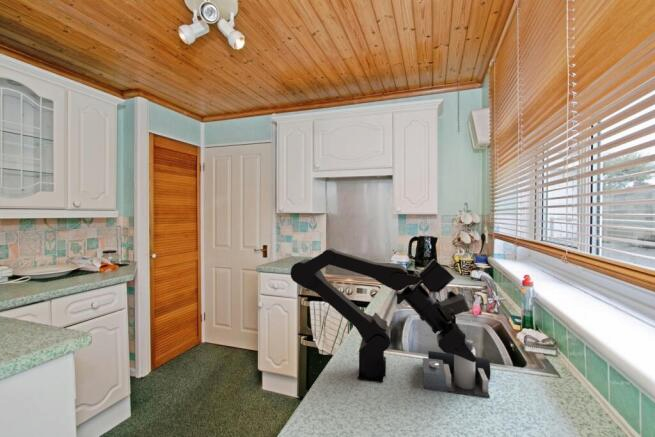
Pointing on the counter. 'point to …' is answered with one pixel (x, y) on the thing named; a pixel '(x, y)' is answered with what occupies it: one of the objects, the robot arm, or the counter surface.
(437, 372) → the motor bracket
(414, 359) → the counter surface
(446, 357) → the pipe connector
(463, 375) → the grey domed cylinder
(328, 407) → the counter surface
